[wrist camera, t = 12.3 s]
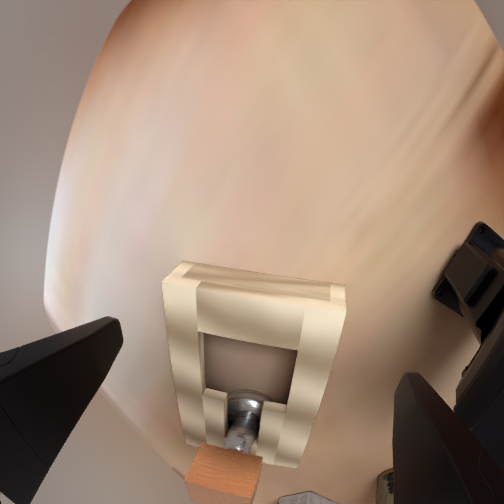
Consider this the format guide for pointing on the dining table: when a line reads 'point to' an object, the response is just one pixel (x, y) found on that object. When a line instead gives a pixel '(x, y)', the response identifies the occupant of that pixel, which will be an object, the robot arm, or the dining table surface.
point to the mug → (385, 487)
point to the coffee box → (304, 499)
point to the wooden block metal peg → (230, 456)
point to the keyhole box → (256, 331)
